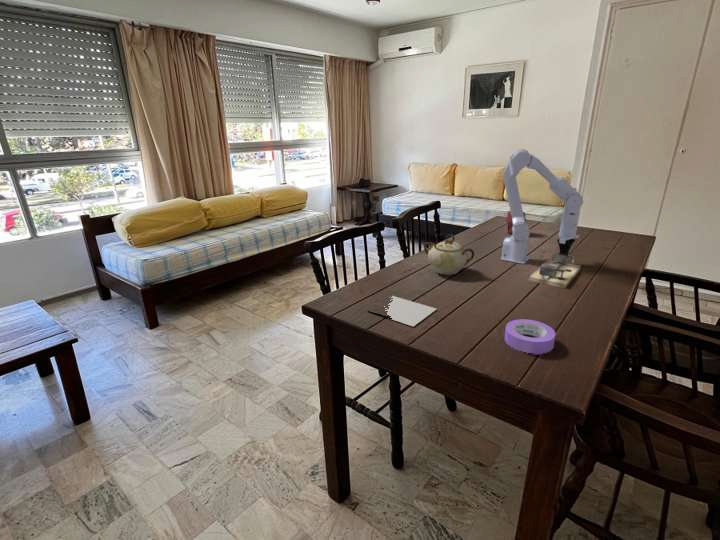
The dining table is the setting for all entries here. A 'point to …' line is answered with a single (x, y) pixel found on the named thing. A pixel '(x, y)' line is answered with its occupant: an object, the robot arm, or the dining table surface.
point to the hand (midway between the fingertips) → (563, 256)
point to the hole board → (554, 279)
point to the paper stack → (408, 311)
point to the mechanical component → (511, 222)
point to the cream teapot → (448, 256)
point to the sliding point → (562, 257)
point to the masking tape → (527, 343)
